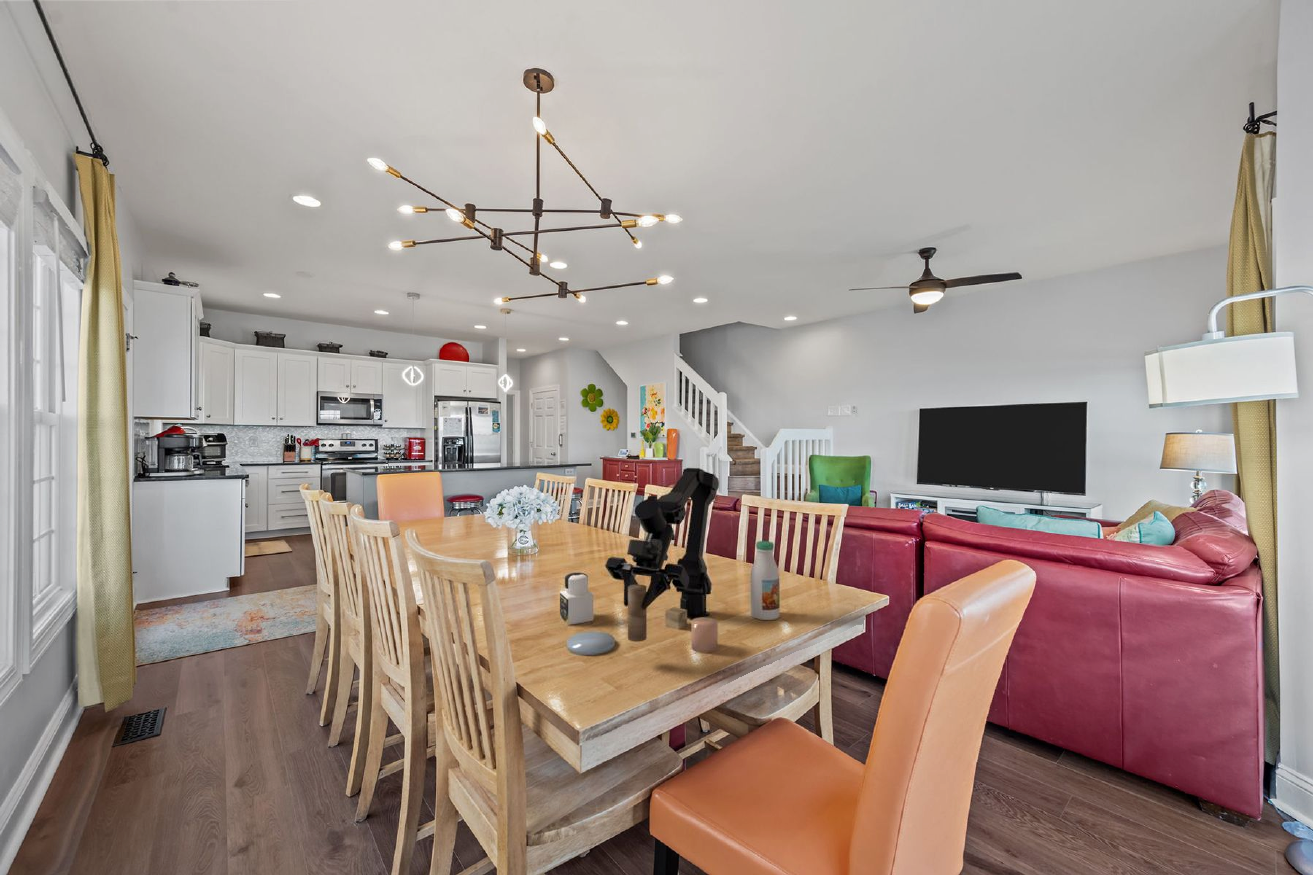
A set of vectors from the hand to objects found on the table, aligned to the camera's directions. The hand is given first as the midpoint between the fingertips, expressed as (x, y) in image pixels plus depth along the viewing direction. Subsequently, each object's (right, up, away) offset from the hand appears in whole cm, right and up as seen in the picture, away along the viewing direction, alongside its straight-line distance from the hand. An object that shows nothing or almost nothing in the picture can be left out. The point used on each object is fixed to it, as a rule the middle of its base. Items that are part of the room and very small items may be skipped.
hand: (634, 606), depth 112 cm
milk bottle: (+34, -12, +30) cm, 47 cm away
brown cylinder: (+1, -7, +1) cm, 7 cm away
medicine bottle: (-17, -13, +28) cm, 35 cm away
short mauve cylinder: (+16, -12, +9) cm, 22 cm away
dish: (-10, -12, +11) cm, 19 cm away
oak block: (+10, -12, +23) cm, 28 cm away
